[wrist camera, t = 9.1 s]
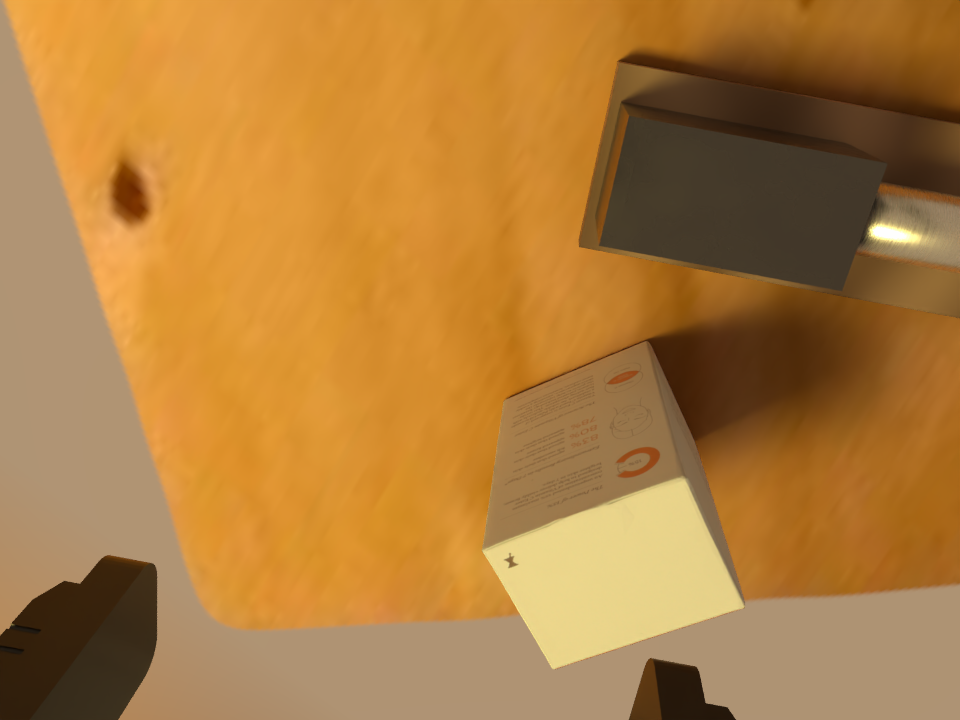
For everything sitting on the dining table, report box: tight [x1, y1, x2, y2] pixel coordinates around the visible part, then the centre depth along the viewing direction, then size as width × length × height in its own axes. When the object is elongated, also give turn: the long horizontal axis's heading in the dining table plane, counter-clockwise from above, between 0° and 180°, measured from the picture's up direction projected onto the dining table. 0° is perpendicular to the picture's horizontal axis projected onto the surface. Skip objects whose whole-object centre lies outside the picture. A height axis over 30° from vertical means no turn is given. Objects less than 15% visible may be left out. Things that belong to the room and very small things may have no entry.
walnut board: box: [579, 61, 960, 318], centre depth 37 cm, size 24×8×1 cm, turn 81°
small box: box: [482, 341, 745, 669], centre depth 37 cm, size 8×6×13 cm
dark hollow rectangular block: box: [595, 102, 888, 291], centre depth 34 cm, size 10×5×5 cm, turn 81°
